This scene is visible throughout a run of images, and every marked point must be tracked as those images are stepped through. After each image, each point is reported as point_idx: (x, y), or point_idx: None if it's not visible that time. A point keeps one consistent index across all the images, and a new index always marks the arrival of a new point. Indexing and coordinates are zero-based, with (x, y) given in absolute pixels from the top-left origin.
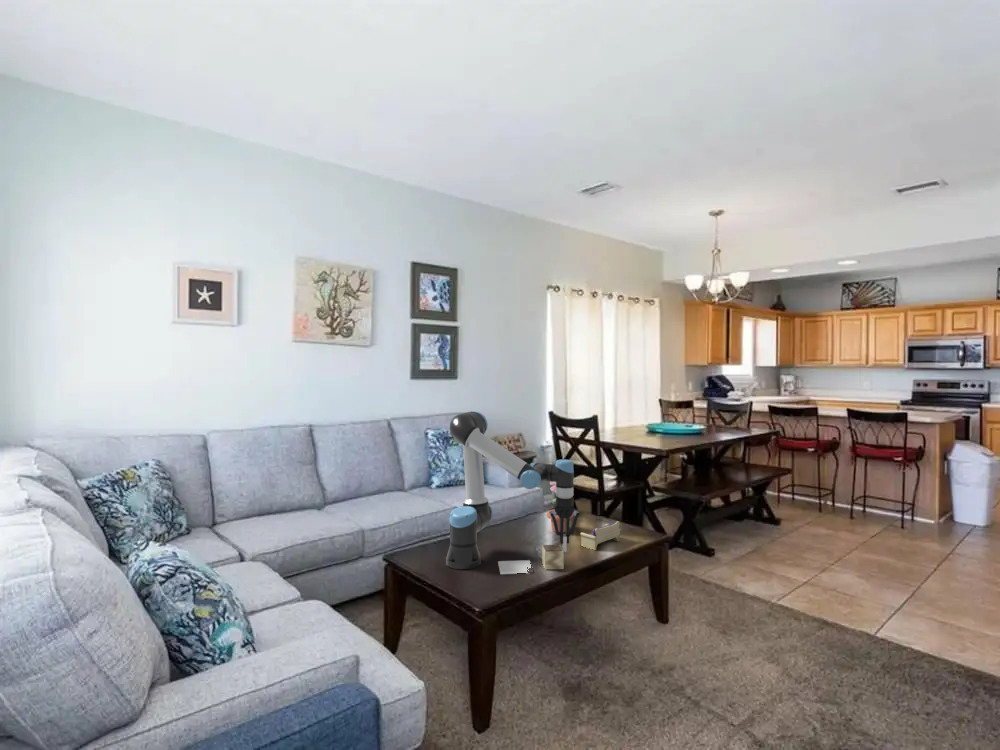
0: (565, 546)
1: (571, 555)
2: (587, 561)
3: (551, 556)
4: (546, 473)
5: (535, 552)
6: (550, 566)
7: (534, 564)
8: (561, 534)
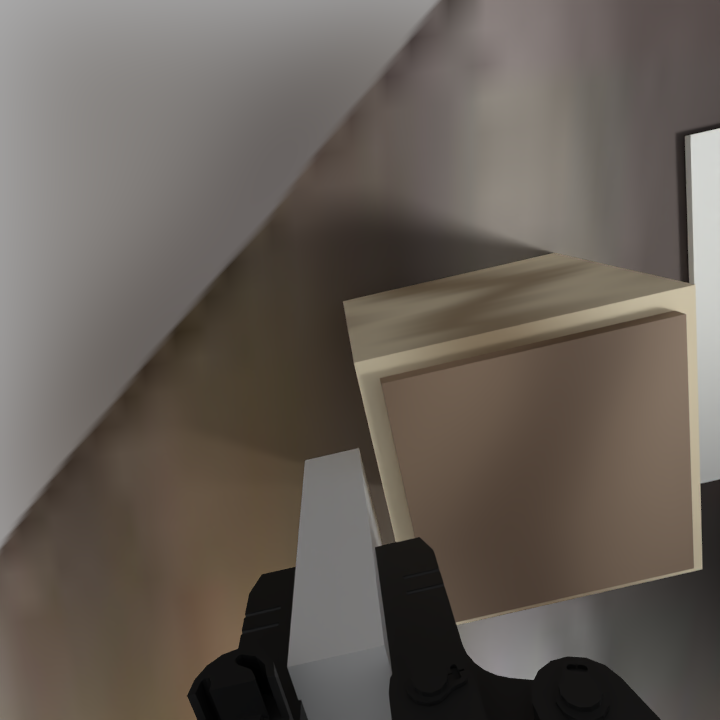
0: (323, 503)
1: None
2: (101, 555)
3: (539, 297)
4: None
5: None
6: (503, 272)
7: None
8: (452, 707)
